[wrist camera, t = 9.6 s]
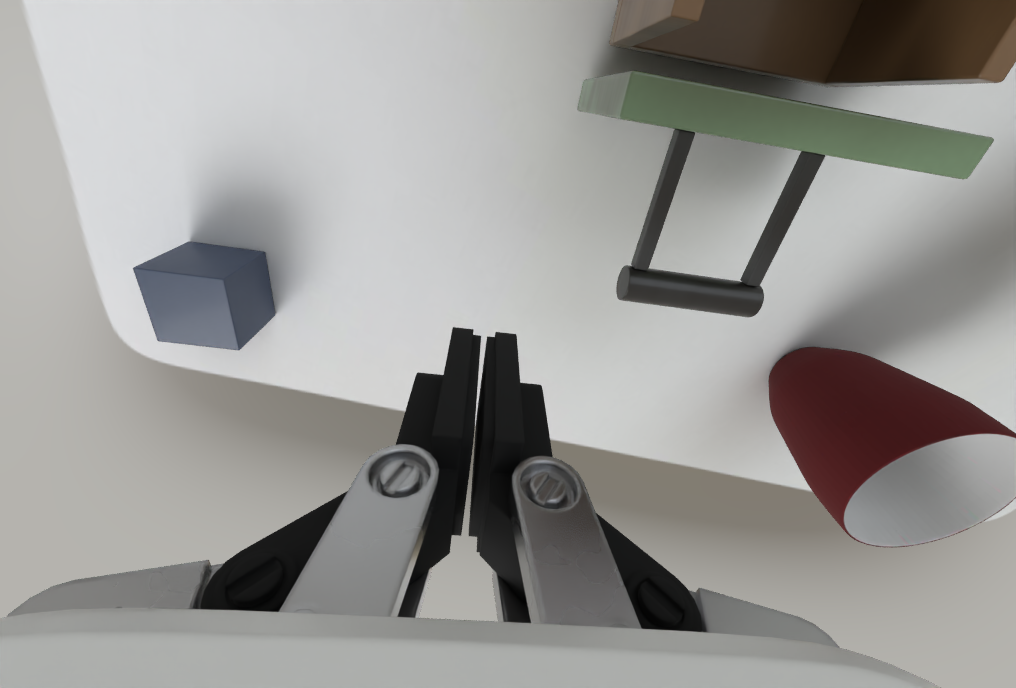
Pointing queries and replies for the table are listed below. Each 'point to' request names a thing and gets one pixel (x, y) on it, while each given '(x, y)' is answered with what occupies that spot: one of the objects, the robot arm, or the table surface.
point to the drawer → (793, 103)
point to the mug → (890, 448)
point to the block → (207, 295)
